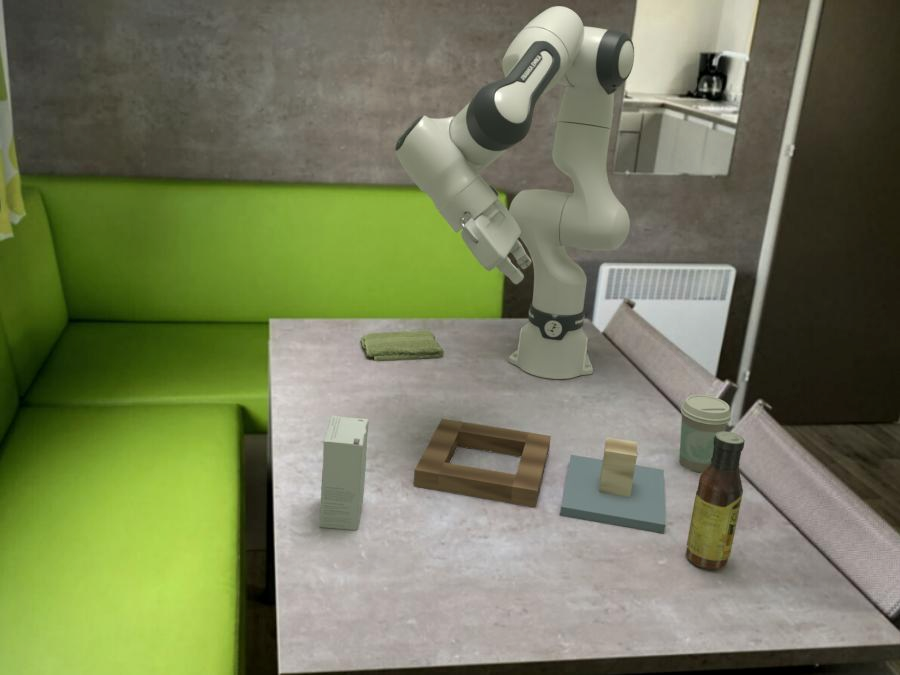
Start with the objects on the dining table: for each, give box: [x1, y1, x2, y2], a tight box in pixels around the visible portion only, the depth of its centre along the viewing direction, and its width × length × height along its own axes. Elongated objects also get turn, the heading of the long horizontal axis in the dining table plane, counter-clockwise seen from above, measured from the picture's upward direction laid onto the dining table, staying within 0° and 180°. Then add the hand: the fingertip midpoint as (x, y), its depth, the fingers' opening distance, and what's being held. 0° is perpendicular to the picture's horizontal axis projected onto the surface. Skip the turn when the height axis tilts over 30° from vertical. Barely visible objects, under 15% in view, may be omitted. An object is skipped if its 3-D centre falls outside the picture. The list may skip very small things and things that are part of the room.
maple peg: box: [599, 437, 638, 497], centre depth 142 cm, size 5×5×8 cm
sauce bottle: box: [685, 430, 745, 571], centre depth 125 cm, size 7×6×20 cm
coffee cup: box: [678, 394, 732, 473], centre depth 154 cm, size 9×9×12 cm
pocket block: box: [413, 417, 552, 508], centre depth 148 cm, size 20×20×3 cm
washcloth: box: [360, 329, 445, 362], centre depth 197 cm, size 13×18×3 cm
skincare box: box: [319, 415, 369, 531], centre depth 129 cm, size 8×6×15 cm
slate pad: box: [559, 454, 666, 534], centre depth 143 cm, size 18×16×2 cm
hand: (524, 273), depth 142 cm, fingers open, 8 cm apart
